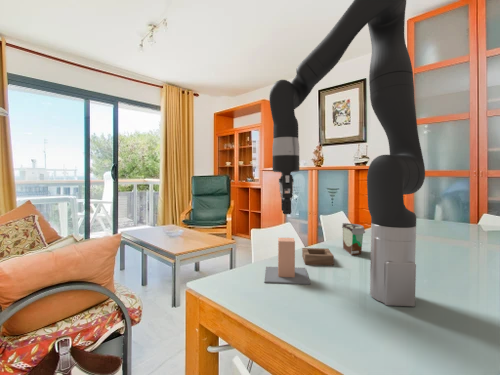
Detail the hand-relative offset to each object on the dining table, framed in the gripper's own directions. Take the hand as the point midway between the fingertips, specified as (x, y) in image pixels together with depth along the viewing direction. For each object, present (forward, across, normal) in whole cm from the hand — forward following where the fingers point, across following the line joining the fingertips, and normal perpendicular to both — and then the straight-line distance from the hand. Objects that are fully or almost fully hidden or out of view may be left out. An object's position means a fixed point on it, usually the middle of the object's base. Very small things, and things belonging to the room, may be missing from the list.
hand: (286, 212), depth 76 cm
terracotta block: (+18, +1, 0) cm, 18 cm away
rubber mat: (+18, +1, 0) cm, 18 cm away
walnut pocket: (+18, +16, -11) cm, 26 cm away
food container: (+18, +27, -27) cm, 43 cm away
